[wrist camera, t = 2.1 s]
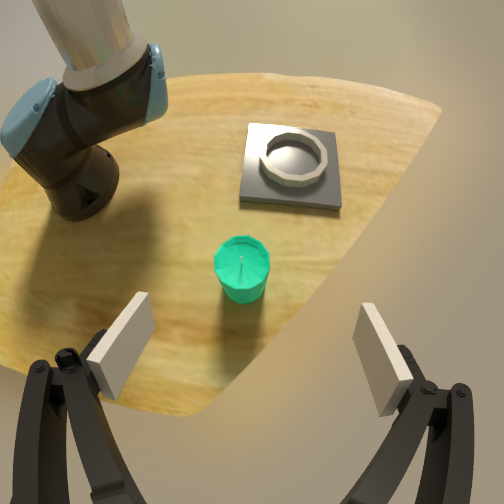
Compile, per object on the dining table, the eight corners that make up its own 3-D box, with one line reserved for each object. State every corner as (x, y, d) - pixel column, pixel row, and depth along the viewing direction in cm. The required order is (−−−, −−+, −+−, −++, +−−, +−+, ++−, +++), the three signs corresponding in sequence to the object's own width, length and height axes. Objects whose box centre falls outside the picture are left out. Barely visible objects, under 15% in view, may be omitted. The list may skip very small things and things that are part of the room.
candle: (258, 257, 40) (260, 222, 29) (270, 297, 38) (279, 276, 27) (217, 269, 40) (205, 238, 28) (229, 309, 38) (220, 294, 26)
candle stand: (239, 200, 43) (238, 189, 40) (249, 128, 48) (249, 115, 45) (339, 210, 43) (345, 200, 40) (333, 137, 48) (337, 125, 45)
